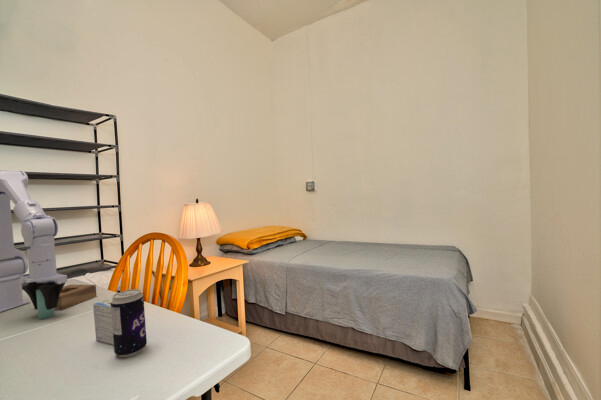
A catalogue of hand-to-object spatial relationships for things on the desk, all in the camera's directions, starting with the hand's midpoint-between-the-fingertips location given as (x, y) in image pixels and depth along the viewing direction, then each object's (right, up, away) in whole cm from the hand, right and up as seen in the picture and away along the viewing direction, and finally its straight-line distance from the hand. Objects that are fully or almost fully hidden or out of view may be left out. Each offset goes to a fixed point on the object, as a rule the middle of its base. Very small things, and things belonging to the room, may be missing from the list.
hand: (45, 308), depth 79 cm
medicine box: (+31, -1, -17) cm, 35 cm away
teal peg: (0, -2, 0) cm, 2 cm away
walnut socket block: (-3, -3, +11) cm, 12 cm away
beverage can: (+38, 0, -22) cm, 44 cm away
